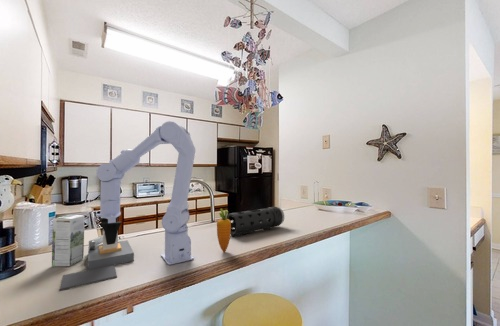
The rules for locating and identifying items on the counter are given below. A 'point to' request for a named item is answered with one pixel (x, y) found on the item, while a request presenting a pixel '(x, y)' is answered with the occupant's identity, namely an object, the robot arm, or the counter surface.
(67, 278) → the mat
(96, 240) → the clip
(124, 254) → the socket block
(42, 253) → the counter surface
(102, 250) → the plug
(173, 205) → the robot arm
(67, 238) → the syrup box
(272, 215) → the muzzle brake
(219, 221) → the carrot
